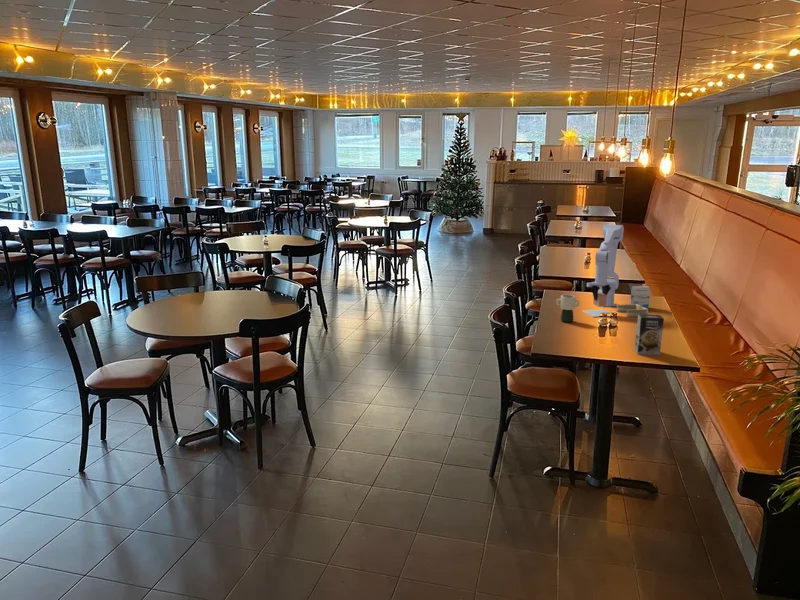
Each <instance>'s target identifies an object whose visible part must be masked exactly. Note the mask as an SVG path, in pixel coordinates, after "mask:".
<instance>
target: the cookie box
mask: <svg viewBox="0 0 800 600" xmlns="http://www.w3.org/2000/svg"><path fill="white" fill-rule="evenodd" d="M664 321H665V320H664V317H663V316H662V315H660V314H649V313H648V314H638V317H637V322H636V323H637V324H636V332H635V333H636V334H635V342H634V351H635V353H636V354H637V355H643V356H644V355H647V356H660V355H661V348H662V339H663V338H662V337H663V332H664V331H663V329H664Z"/></svg>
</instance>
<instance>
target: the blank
mask: <svg viewBox="0 0 800 600" xmlns="http://www.w3.org/2000/svg"><path fill="white" fill-rule="evenodd" d="M606 299H607V295H605V294H603V293H598V295H597V300H594V299H593V300H592V304H593V305H594V306H597V307H598V308H601V307H602V308H603V307H605V308H606Z"/></svg>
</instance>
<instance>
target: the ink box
mask: <svg viewBox="0 0 800 600" xmlns="http://www.w3.org/2000/svg"><path fill="white" fill-rule="evenodd" d="M650 294H651V288H650V286H647V285H632V286H631V291H630V303H629V304H638V305H640V306H642V307H644V308H646V309H648V310H649V309H650V308H649V306H650V305H649V304H650Z"/></svg>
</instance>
